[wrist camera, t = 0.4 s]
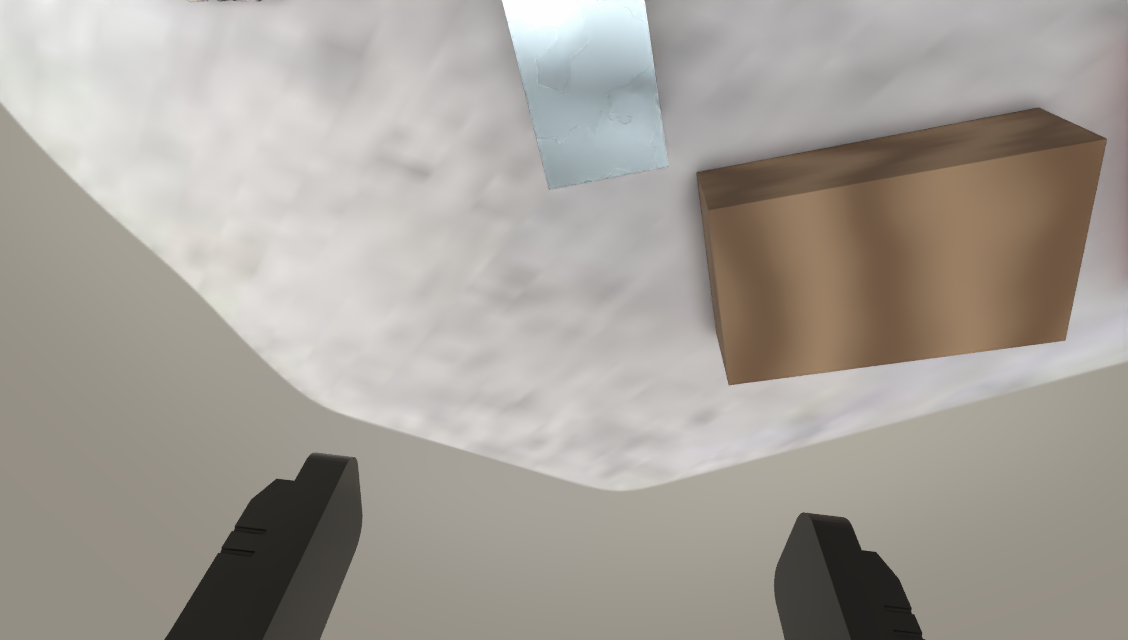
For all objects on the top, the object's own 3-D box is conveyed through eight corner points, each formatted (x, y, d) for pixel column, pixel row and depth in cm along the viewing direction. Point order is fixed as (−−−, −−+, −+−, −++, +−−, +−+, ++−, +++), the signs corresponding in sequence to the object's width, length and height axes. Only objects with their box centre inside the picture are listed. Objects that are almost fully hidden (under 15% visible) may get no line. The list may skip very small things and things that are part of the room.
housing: (623, -117, 27) (626, -125, 21) (658, 119, 32) (668, 166, 26) (509, -86, 28) (481, -86, 22) (560, 140, 33) (549, 189, 27)
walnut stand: (1039, 107, 31) (1106, 139, 26) (1012, 289, 36) (1065, 340, 31) (696, 172, 33) (708, 210, 29) (716, 333, 38) (728, 385, 34)
